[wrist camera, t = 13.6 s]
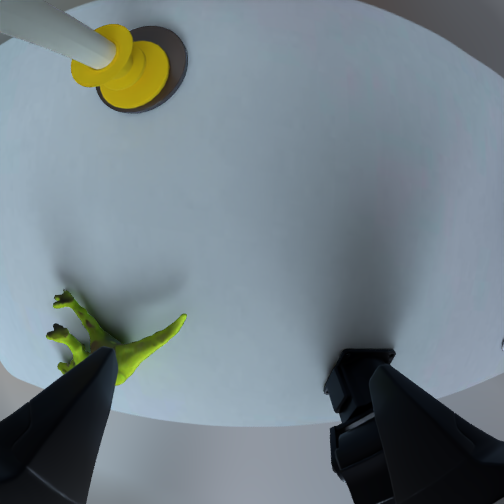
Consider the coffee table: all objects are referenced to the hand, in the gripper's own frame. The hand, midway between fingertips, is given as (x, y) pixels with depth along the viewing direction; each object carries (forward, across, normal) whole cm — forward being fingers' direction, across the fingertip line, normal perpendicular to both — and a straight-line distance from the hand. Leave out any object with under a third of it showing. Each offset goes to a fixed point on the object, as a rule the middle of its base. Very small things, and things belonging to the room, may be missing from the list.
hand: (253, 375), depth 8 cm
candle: (+13, +9, -11) cm, 19 cm away
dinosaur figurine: (+13, +11, +12) cm, 21 cm away
